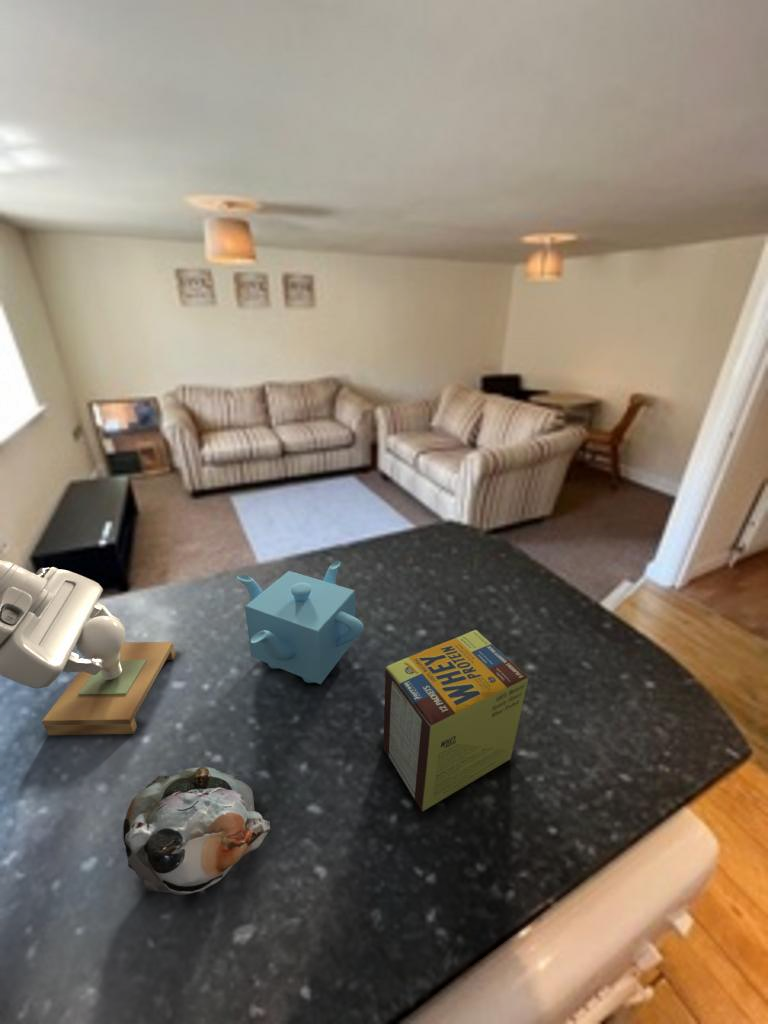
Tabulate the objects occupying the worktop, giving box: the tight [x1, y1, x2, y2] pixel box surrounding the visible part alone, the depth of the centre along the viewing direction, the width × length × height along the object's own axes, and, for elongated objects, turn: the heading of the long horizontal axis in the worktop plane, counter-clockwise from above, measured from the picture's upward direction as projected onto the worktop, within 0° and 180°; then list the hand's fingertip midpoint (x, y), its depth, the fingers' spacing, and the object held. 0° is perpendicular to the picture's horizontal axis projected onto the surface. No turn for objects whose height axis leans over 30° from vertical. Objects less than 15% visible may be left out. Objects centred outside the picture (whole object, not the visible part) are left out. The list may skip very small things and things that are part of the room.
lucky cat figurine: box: [122, 766, 271, 896], centre depth 49 cm, size 15×12×14 cm
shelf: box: [41, 641, 176, 736], centre depth 71 cm, size 12×16×3 cm
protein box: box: [382, 629, 529, 812], centre depth 60 cm, size 10×15×16 cm
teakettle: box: [236, 560, 364, 685], centre depth 77 cm, size 19×19×15 cm
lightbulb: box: [75, 616, 127, 680], centre depth 68 cm, size 6×6×11 cm
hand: (109, 646), depth 68 cm, fingers open, 8 cm apart
